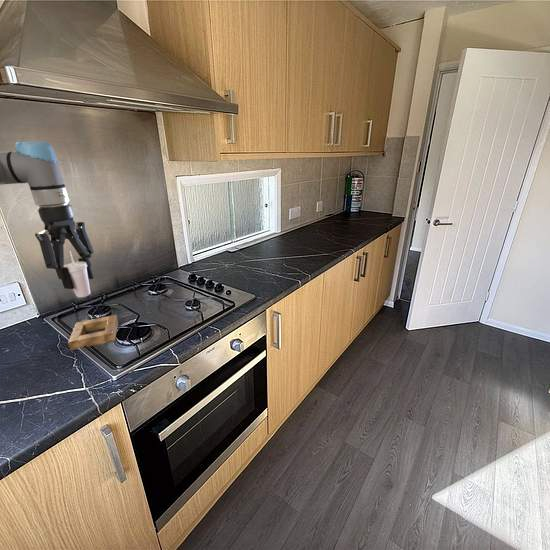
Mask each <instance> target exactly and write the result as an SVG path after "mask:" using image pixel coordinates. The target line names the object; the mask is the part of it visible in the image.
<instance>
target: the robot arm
mask: <svg viewBox="0 0 550 550" xmlns="http://www.w3.org/2000/svg"><path fill="white" fill-rule="evenodd" d="M14 147H15V150H11V151H0V186H2V185H14V184H28V186H29V189H30V192H31V196H32V198H33V201H34V204H35V206H37V212H38V215H39V218H40V221H41V222H42V223H43V224H44V230H42V231H40V232H35V234H34V236H35V238H36V240H37V242H38V243H39V246H40V250H41V253H42V257H43V261H44V264H45V267H46V269H49V270H54V271H55V273H56V276H57V277H58V280H61V283H62V286H63V289H64V290H65V289H67V290H73V288H74V286H73V283H72V280H71V277H70V274H69V271H68V268H67V267H64V265H65V255H64V253H65V251H64V250H65V249H64V245H65V244H66V240H68V241H69V243H70V244H71V246H72V247H73V249H74V250H75V251H76V252H77V254H78V256H79V258H78V259H77V260H78V262H81V261H82V262H86V263H87V267H86V268H87V274H88V280H93V279H94V275H93V271H92V262H91V258H92V257H93V256H92V255H93V254H94V253H95V251H94V248H93V245H92V243H91V240H90V238H89V235H88V233H87V230H86V222H85V221H76V220H75V219H74V218H75V214H74V210H73V207H72V204H70V198H69V194H68V191H67V188H66V185H65V181H64V178H63V174H62V171H61V168H60V165H59V160H58V159H57V156H56V153H55V151H54V147H53V145H51V143H49V142H47V141H19V142H16V143H15V144H14Z"/></svg>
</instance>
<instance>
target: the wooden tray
mask: <svg viewBox="0 0 550 550" xmlns="http://www.w3.org/2000/svg"><path fill="white" fill-rule="evenodd" d="M118 326H119V320H118V315H117V314H113V315H108V316H107V315H106V316H102V317H97V318H93V319H92V318H91V319H88V320H87V319H86V320H82V321H77V322H76V323H75V325H74V327H73V329H72V332H71V334H70V336H69V339H68V341H67V344H68V347H69V349H70V351H75V350H79V349H78V348H80V347H83V346H87V347H86V348H88V347H93V346H98V345H103V344H106V343H111V342H114V341H116V336H117V332H118V328H119V327H118ZM103 329H104V330H103ZM98 330H101V331H98ZM94 331H96V332H94ZM116 331H117V332H116ZM88 332H90V333H88ZM91 332H92V333H91ZM80 349H81V348H80Z"/></svg>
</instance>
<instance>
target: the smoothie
mask: <svg viewBox="0 0 550 550" xmlns="http://www.w3.org/2000/svg"><path fill="white" fill-rule="evenodd" d="M68 255H69V258H70V262H69V263H66V264H64V267H67V268H68V271H69V274H70V277H71V280H72V283H73V286H74V288H73V289H72V291H73V292H74V293H73V294H74V295H75V296H76V298H79V299H80V298H85V297H88V296H90V295H91V287H90V282H89V280H90V279H88V274H87V268H86V267H87V263H86V262H82V261H81V262H79V261H75V260H74V257H73V254H72V251H71V250H69V251H68Z"/></svg>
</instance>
